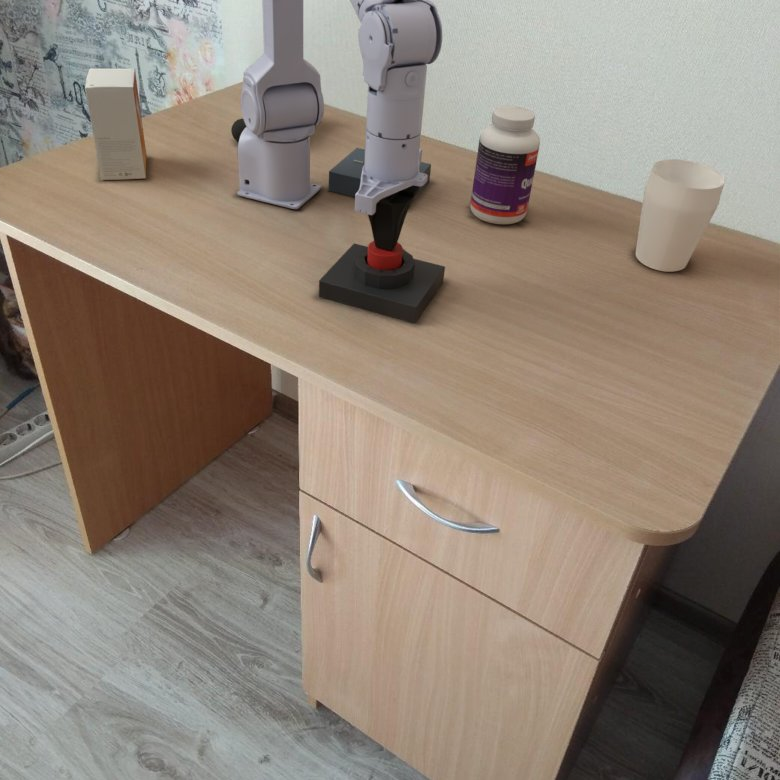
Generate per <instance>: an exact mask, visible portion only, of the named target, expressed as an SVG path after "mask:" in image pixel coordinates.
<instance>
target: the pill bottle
mask: <svg viewBox="0 0 780 780" xmlns="http://www.w3.org/2000/svg"><path fill="white" fill-rule="evenodd" d="M535 118H536V114H535V112H533V111H532V110H530V109H528V108H525V107H523V106H517V105H498V106H496V107H494V109H492V114H491V123H490V124H488V125H486V126H485V127H484V128H483V129H482V130H481V132H480V134H479V140H478V147H477V154H476V161H475V167H474V176H473V182H472V190H471V196H470V204H469V206H470V210H471V212H472V213H473V215H474V216H475V217H476V218H478V219H479V220H481V221H482V222H486V223H489V224H495V225H513V224H516V223H519V222H521V221H522V220H523V219H525V217H526V216H527V213H528V209H529V203H530V198H531V192H532V187H533V184H534V183H533V182H534V177H535V172H536V166H537V161H538V157H539V150H540V145H541V139H540V138H541V137H540V136H539V134H538V133H537V132H536V130H535V129H533V128H534V125H535V121H536V120H535Z"/></svg>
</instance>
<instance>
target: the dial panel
mask: <svg viewBox="0 0 780 780" xmlns="http://www.w3.org/2000/svg"><path fill="white" fill-rule="evenodd" d="M364 162H365V148H362V147H361V148H360V147H356V148H355V149H353V151H351V152H349V154H348V155H346V156H345V157H343V158H342V159H341V160H340V161H339V162H338V163H337V164H336V165H335V166H333V167H332V168H331V169H330V170H329V171H328V192H332V193H336V194H340V195H344V196H347V197H353V198H355V194H356V193H357V192H358V190H359V188H360V182H361V174H362V168H363V166H364ZM431 169H432V164H431V163H428V162H424V161H421V165H420V166H419V172H421V173H425V174H427V175H428V178H427V182H426V183H425V184H424V185H423V186H419V192H418V194H417V195H416V197H415V198H414V200H413V202H414V201H415V200H416V199H417V198H418V196H419V195H420V194H421V193H422V191H424V190H425V188H426V187H427V186H428V185H429V184H430V180H431Z"/></svg>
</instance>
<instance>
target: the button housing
mask: <svg viewBox="0 0 780 780" xmlns="http://www.w3.org/2000/svg"><path fill="white" fill-rule="evenodd" d="M367 255H368V245H367V246H366V245H363V244H359V243H355V242H354V243H353V244H352V245H351V246H350V247H349V248H348V249H347V250H346V251H345V252H344V253H343V255H341V256H340V258H339V259H338V260H337V261H336V262H335V263H334V264H333V265H332V267H330V268H329V269H328V270H327V272H326V273H324V275H323V276H322V277H321V278H320V279H319V281H318V297H319V298H323V299H325V300H326V299H327V300H330V301H334V302H337V303H340V304H345V305H347V306H352V307H355V308H359V309H362V310H366V311H369V312H372V313H377V314H380V315H384V316H387V317H388V316H389V317H392V318H395V319H397V320H402V321H404V322H405V321H406V322H409V323H412V324H416V323H417V321H418V320H419V318H420V317H421V316H422V314H423V312H424V311H425V309H426V308H427V307H428V305H429V304H430V302H431V301H432V299H433V297H434V296H435V295H436V293H437V292H438V290H439V289H440V288H441V286H442V285H443V283H444V279H445V273H446V272H445V271H446V266H444V265H440V264H436V263H433V262H428V261H426V260H422V259H417V258H414V256H413V254H411V253H409V252H408V251H407V250H405V249H403V252H402V264H401V266H400V268H397V269H394V270H379V269H375V268H372V267H371V266H369V265H368V263H367Z"/></svg>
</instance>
